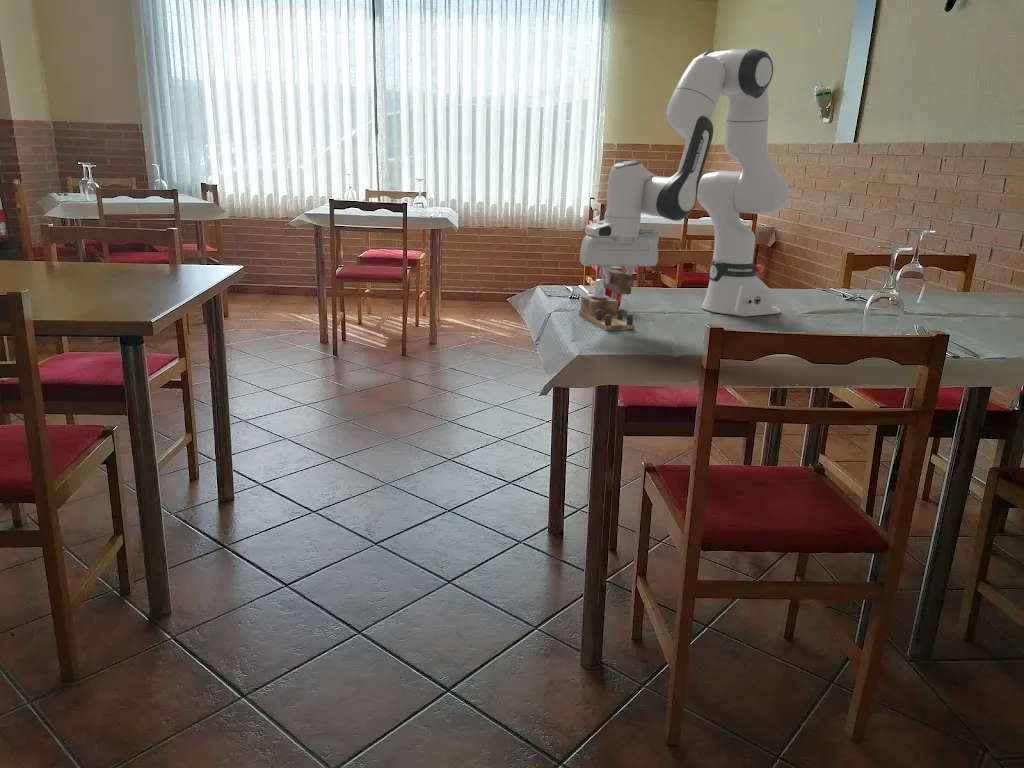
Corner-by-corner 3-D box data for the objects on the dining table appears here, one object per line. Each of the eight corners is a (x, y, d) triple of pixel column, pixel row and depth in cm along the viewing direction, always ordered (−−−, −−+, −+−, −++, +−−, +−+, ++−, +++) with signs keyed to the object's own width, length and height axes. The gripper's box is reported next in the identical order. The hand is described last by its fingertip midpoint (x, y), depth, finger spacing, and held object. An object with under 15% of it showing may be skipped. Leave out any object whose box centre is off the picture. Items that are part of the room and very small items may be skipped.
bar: (614, 287, 202) (615, 269, 201) (630, 294, 193) (632, 276, 191) (603, 287, 201) (605, 269, 200) (619, 294, 192) (621, 276, 191)
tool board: (606, 314, 214) (607, 295, 213) (634, 329, 198) (636, 309, 196) (579, 314, 212) (580, 295, 210) (605, 330, 195) (607, 310, 194)
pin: (600, 311, 211) (603, 278, 208) (605, 313, 208) (607, 280, 206) (591, 312, 210) (593, 279, 208) (596, 314, 208) (598, 280, 205)
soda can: (619, 311, 218) (623, 269, 215) (594, 309, 220) (597, 267, 216) (621, 306, 225) (624, 265, 222) (596, 304, 226) (600, 263, 223)
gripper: (653, 227, 198) (648, 281, 203) (579, 226, 193) (575, 281, 197) (665, 230, 193) (659, 285, 197) (589, 229, 187) (584, 286, 191)
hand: (617, 283), depth 197 cm, fingers closed on bar, 3 cm apart
